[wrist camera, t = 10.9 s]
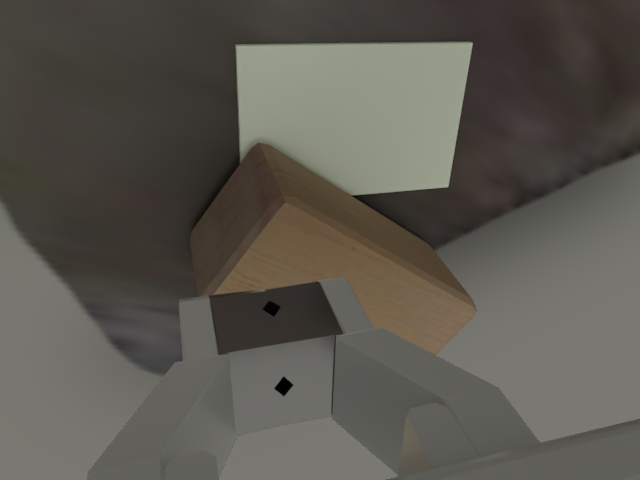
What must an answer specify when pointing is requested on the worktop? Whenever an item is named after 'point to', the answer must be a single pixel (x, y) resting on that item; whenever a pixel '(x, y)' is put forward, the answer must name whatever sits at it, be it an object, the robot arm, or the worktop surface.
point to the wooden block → (324, 249)
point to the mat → (356, 109)
